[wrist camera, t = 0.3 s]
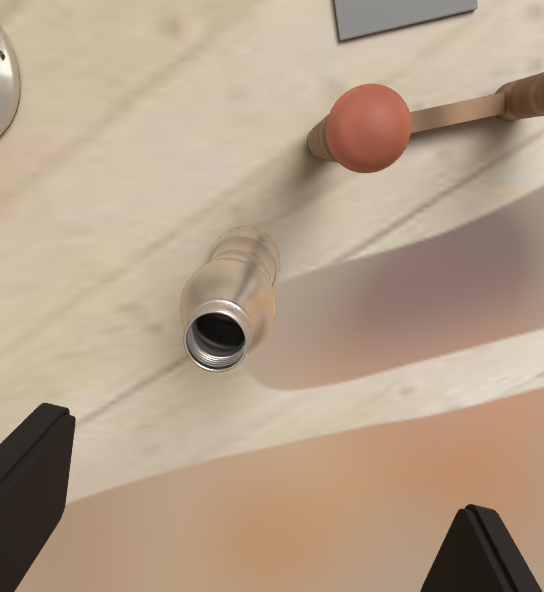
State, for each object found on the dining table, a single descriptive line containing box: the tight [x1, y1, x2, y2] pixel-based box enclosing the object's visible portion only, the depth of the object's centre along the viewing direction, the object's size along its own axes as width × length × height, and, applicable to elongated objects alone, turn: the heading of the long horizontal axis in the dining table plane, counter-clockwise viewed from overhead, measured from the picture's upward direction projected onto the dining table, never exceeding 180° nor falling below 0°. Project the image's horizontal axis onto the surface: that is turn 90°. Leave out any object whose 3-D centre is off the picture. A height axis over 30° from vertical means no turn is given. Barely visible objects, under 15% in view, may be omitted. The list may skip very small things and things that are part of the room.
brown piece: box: [308, 72, 544, 173], centre depth 27 cm, size 19×3×24 cm, turn 101°
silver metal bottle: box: [180, 227, 280, 372], centre depth 34 cm, size 6×7×20 cm
